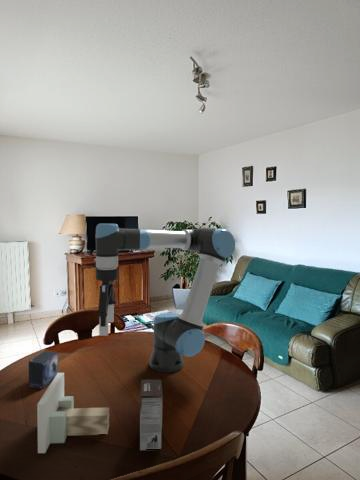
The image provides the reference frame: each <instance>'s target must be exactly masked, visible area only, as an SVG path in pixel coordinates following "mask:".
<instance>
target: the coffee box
mask: <svg viewBox="0 0 360 480" xmlns="http://www.w3.org/2000/svg"><path fill="white" fill-rule="evenodd" d="M139 395H140V397H139V403H140V404H139V451H147V450H146V449H161V448H162V446H163V445H162V444H163V440H162V439H163V383H162V379H141V380H140V394H139ZM162 449H163V448H162ZM162 449H161V450H162Z"/></svg>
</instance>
